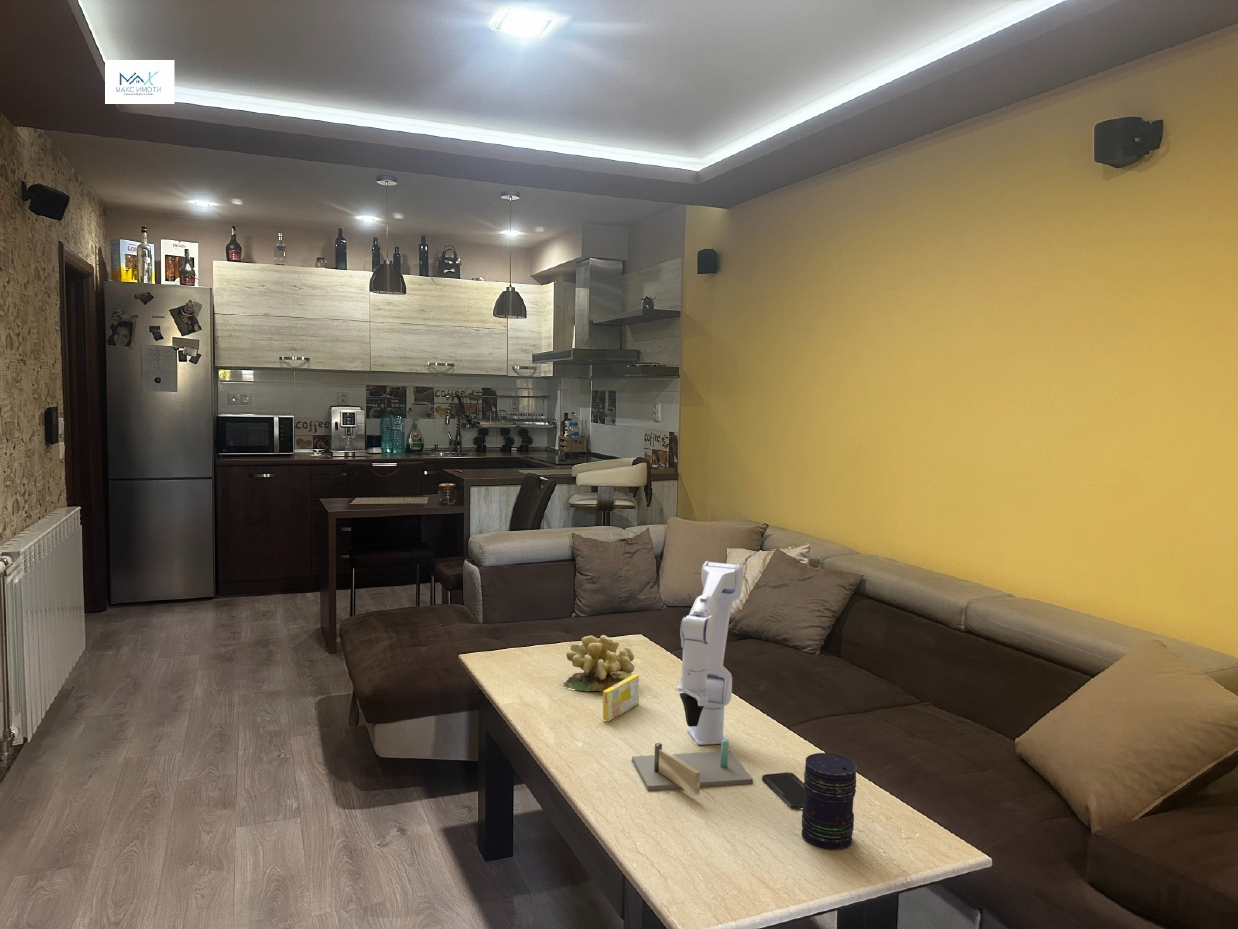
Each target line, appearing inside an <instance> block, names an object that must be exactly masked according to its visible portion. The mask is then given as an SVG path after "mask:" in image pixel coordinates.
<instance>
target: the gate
mask: <svg viewBox="0 0 1238 929" xmlns="http://www.w3.org/2000/svg"><path fill="white" fill-rule="evenodd" d="M673 754H674V753H671V752H669V751H668V750H666V749H665V748H662V749H661V750H659V770H658V772H660V773H661V774H663V775H664V776H666V777H667V778H669V779H670V780H671V781H673V782H674V783H676V784H677V785H679V786H680V787H681V788H680V789H683V790H685V792H687V793H689V794H690V795H692V797H697V796H700V788H701V787H700V772H699V771H697V770H696V769H694V768H693V767H691V766H690V765H688V764H686V763H685V762H683V761H682V760H680V759H679V758H677V757H676V756H674V755H673Z"/></svg>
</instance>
